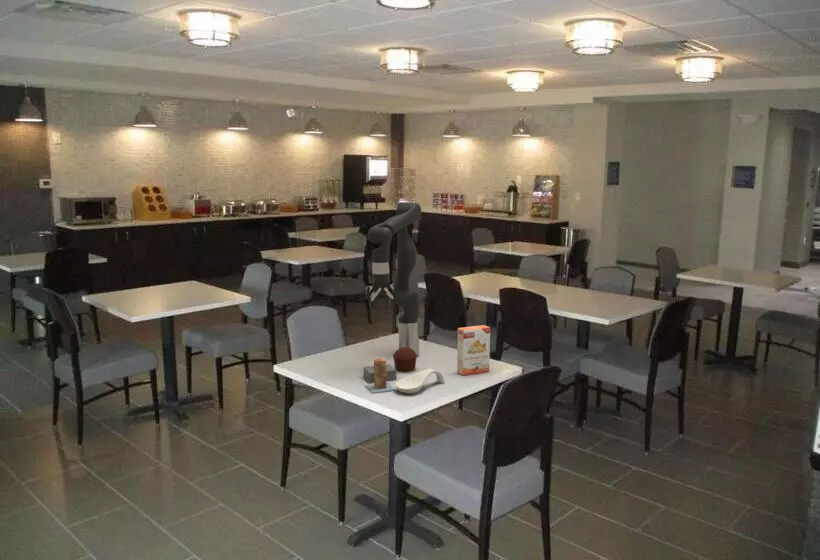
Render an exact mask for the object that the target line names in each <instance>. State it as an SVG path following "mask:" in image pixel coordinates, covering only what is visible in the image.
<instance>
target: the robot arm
mask: <svg viewBox="0 0 820 560" xmlns="http://www.w3.org/2000/svg"><path fill="white" fill-rule="evenodd" d="M421 217H422V206H421V205H420V203H417V202H413V201H412V202H411V201H407V202H406V201H404V202H403V201H402V202H401V201H400V202H399V203H398V205H397V207H396V214H395V215H394V216H392V217H391V216H390V217H389V218H387V219H386V220H385V221H383V222H382V223H378V224H376V225H373V226H372V227H370V229H369V230H368V232H367V238H368V239H367V240H368V241H369V242H371V243H372V244H381V245H380V247H379V248H374V249H373V250H372V265H371V266H372V268H371V271H372V274H371V275H372V285H366V286H365V296H364V297H365V299H366V300H367V301H369V308H371V309H372V310H374V309H375V301H374V300H375V298H376V297H377V296H384V295H387V297H388V299H389V300H388V307H390V308H393V306H394V301H395V303H396V305H397V306H398V307H400V308H403V314H400V315H399V316H398V349H400V348H403V347H408V348H411V349H412V350H414V351H415V353H416V354H417V357H420V337H419V336H418V318H419V316H420V295H419V293H418V292H417V291H416V290H412V289H410V277H411V274H412V272H413V271H414V269H415V267H416V264H417V248H416V244H415V242H414V241H413V239H412V238H411V236H410V234H409V232H408V226H409V225H411V224H413V223H416V222H418V221H419V220H420V219H421ZM396 233H397V249H396V250H397V251H396V256H397V257H396V263H397V265H396V266H397V268H396V283H394V282H393V283H392V284H390V283H391V282H390V264H389V251H390V246H391V242H392V239H393V236H394V235H395V234H396ZM390 289H392V293H391V292H390V291H389V290H390ZM371 291H372V293H371ZM370 293H371V294H370Z"/></svg>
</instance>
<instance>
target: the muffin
mask: <svg viewBox="0 0 820 560" xmlns="http://www.w3.org/2000/svg"><path fill="white" fill-rule="evenodd" d="M392 357H393V362H394V363H393V364H394V369H396V372H401V373H411V372H414V371H415V369H416V366H417V365H416V363H417V358H418V356H417V354H416V353H415V351H414V350H412V349H411V348H408V347H403V348H400V349H399V348H398V349H397V350H395V352H394V353H393V354H392Z"/></svg>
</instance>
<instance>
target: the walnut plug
mask: <svg viewBox="0 0 820 560" xmlns="http://www.w3.org/2000/svg"><path fill="white" fill-rule="evenodd" d="M386 364H387V360H386V359H385V358H384V357H380V358H379V357H378V358H374V359H373V366H374V383H373V384H374V386H375V387H376V388H377V389H384V388H387V384H386V383H387V381H386Z"/></svg>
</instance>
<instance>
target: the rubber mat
mask: <svg viewBox="0 0 820 560" xmlns="http://www.w3.org/2000/svg"><path fill="white" fill-rule="evenodd" d="M386 384H387V388H384V389H377V388H376V387H375V386H374V383H370V384H366V385H365V387H366V389H368V391H369V392H370V393H371V394H380V393H388V392H395V391H396V390H397V388H396V389H395V387H393V385H391V384H390V383H389V381H386Z"/></svg>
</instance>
